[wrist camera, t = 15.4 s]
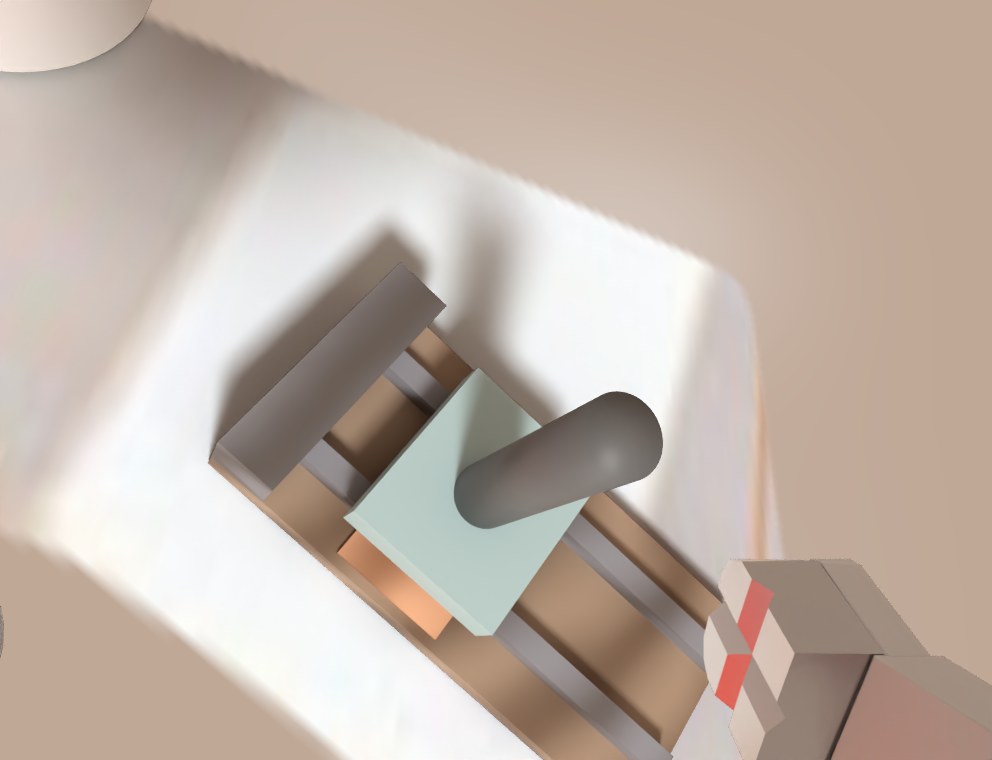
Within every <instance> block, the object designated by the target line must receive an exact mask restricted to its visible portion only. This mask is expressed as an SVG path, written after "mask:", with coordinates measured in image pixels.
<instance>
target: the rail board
mask: <svg viewBox="0 0 992 760" xmlns="http://www.w3.org/2000/svg"><path fill="white" fill-rule="evenodd" d="M445 307H446V305H445V304H444V303H443V302H442V301H441V300H440V299H439V298H438V297H437V296H436V295H435V294H434V293H433V292H432V291H431V290H429V289H428V288H427V287H426V286H425V285H424V284H423V283H422V282H421V281H420V280H419V279H418V278H417V277H416V276H415V275H414V274H413V273H411V272H410V271H409V270H408V269H407V268H406V267H405V266H404V265H403V264H402V263H401V262H400V263H399V264H398V265H397V266H396V267H395V268H394V269H393V270H392V271H391V272H390V273H389V274H388V275H387V276H386V277H385V278H384V279H383V280H382V281H381V282H380V283H379V284H378V285H377V286H376V287H375V288H374V289H373V290H372V291H371V292H370V293H369V294H368V295H366V296H365V297H364V298H363V299H362V300H361V301H360V302H359V303H358V304H357V305H356V306H355V307H354V308H353V309H352V310H351V311H350V312H349V313H348V314H347V315H346V316H345V317H344V318H343V319H342V320H341V321H340V322H339V323H338V324H337V325H336V326H335V327H334V328H333V329H332V330H331V331H330V332H329V333H328V334H327V335H326V336H325V337H324V338H323V339H322V340H321V341H320V342H319V343H318V344H317V345H316V346H315V347H314V348H313V349H311V350H310V351H309V352H308V353H307V354H306V355H305V356H304V357H303V358H302V359H301V360H300V361H299V362H298V363H297V364H296V365H295V366H294V367H293V368H292V369H291V370H290V371H289V372H288V373H287V374H286V375H285V376H284V377H283V378H282V379H281V380H280V381H279V382H278V383H277V384H276V385H275V386H274V387H273V388H272V389H271V390H270V391H269V392H268V393H267V394H266V395H265V396H264V397H263V398H262V399H261V400H260V401H259V402H258V403H257V404H255V405H254V406H253V407H252V408H251V409H250V410H249V411H248V412H247V413H246V414H245V415H244V416H243V417H242V418H241V419H240V420H239V421H238V422H237V423H236V424H235V425H234V426H233V427H232V428H231V429H230V430H229V431H228V432H227V433H226V434H225V435H224V436H223V437H222V438H221V439H220V440H219V441H218V442H217V444H216V446H215V449H214V451H213V453H212V455H211V457H210V460H209V462H208V464H210V465H211V466H212V467H213V468H214V469H215V470H216V471H217V472H219V473H220V474H221V475H222V476H223V477H224V478H225V479H227V480H228V481H229V482H230V483H231V484H232V485H233V486H234V487H236V488H237V489H238V490H239V491H240V492H241V493H242V494H243V495H245V496H246V497H247V498H248V499H249V500H250V501H251V502H252V503H254V504H255V505H256V506H257V507H258V508H259V509H260V510H262V511H263V512H264V513H265V514H266V515H267V516H268V517H269V518H271V519H272V520H273V521H274V522H275V523H276V524H277V525H278V526H280V527H281V528H282V529H283V530H284V531H285V532H286V533H288V534H289V535H290V536H291V537H292V538H293V539H294V540H295V541H297V542H298V543H299V544H300V545H301V546H302V547H303V548H304V549H306V550H307V551H308V552H309V553H310V554H311V555H312V556H314V557H315V558H316V559H317V560H318V561H319V562H320V563H321V564H323V565H324V566H325V567H326V568H327V569H328V570H329V571H330V572H332V573H333V574H334V575H335V576H336V577H337V578H338V579H340V580H341V581H342V582H343V583H344V584H345V585H346V586H347V587H349V588H350V589H351V590H352V591H353V592H354V593H355V594H356V595H358V596H359V597H360V598H361V599H362V600H363V601H364V602H366V603H367V604H368V605H369V606H370V607H371V608H372V609H373V610H375V611H376V612H377V613H378V614H379V615H380V616H381V617H382V618H384V619H385V620H386V621H387V622H388V623H389V624H390V625H391V626H393V627H394V628H395V629H396V630H397V631H398V632H399V633H401V634H402V635H403V636H404V637H405V638H406V639H407V640H408V641H410V642H411V643H412V644H413V645H414V646H415V647H416V648H417V649H419V650H420V651H421V652H422V653H423V654H424V655H425V656H427V657H428V658H429V659H430V660H431V661H432V662H433V663H434V664H436V665H437V666H438V667H439V668H440V669H441V670H442V671H443V672H445V673H446V674H447V675H448V676H449V677H450V678H451V679H453V680H454V681H455V682H456V683H457V684H458V685H459V686H460V687H462V688H463V689H464V690H465V691H466V692H467V693H468V694H469V695H471V696H472V697H473V698H474V699H475V700H476V701H477V702H479V703H480V704H481V705H482V706H483V707H484V708H485V709H486V710H488V711H489V712H490V713H491V714H492V715H493V716H494V717H495V718H497V719H498V720H499V721H500V722H501V723H502V724H503V725H505V726H506V727H507V728H508V729H509V730H510V731H511V732H512V733H514V734H515V735H516V736H517V737H518V738H519V739H520V740H521V741H523V742H524V743H525V744H526V745H527V746H528V747H529V748H530V749H532V750H533V751H534V752H535V753H536V754H537V755H538V756H540V757H541V758H542V759H543V760H672V758H673V756H672V755H671V754H670V753H671V751H672V749H673V748H674V746H675V744H676V742H677V740H678V738H679V737H680V735H681V733H682V731H683V729H684V727H685V725H686V724H687V722H688V720H689V718H690V716H691V714H692V713H693V711H694V709H695V707H696V705H697V703H698V701H699V700H700V698H701V696H702V694H703V692H704V690H705V688H706V687H707V685H708V683H709V680H708V677H707V673H706V668H705V664H704V638H703V637H704V633H705V629H706V625H707V621H708V617H709V615H710V614H711V613H712V612H713V611H714V610H715V609H716V608H718V607H719V606H720V605H721V604H722V603H721V602H720V601H719V600H718V599H717V598H716V597H715V596H714V595H712V594H711V593H710V592H709V591H708V590H707V589H706V588H705V587H704V586H703V585H702V584H701V583H700V582H699V581H698V580H696V579H695V578H694V577H693V576H692V575H691V574H690V573H689V572H688V571H687V570H686V569H685V568H684V567H683V566H682V565H680V564H679V563H678V562H677V561H676V560H675V559H674V558H673V557H672V556H671V555H670V554H669V553H668V552H667V551H666V550H664V549H663V548H662V547H661V546H660V545H659V544H658V543H657V542H656V541H655V540H654V539H653V538H652V537H651V536H650V535H648V534H647V533H646V532H645V531H644V530H643V529H642V528H641V527H640V526H639V525H638V524H637V523H636V522H635V521H634V520H632V519H631V518H630V517H629V516H628V515H627V514H626V513H625V512H624V511H623V510H622V509H621V508H620V507H619V506H618V505H617V504H615V503H614V502H613V501H612V500H611V499H610V498H609V497H608V496H607V495H606V494H605V493H604V492H602V493H599V494H596V495H593V496H590V497H589V499H588V500H587V501H586V503H585V504H584V506H583V507H582V508H581V510H580V511H579V513H578V514H577V516H576V517H575V518H574V520H573V521H572V523H571V524H570V526H569V527H568V528H567V530H566V531H565V533H564V534H563V536H562V537H561V538H560V540H559V541H558V543H557V544H556V545H555V547H554V548H553V550H552V551H551V553H550V554H549V555H548V557H547V558H546V560H545V561H544V563H543V564H542V565H541V567H540V568H539V570H538V571H537V573H536V574H535V575H534V577H533V578H532V580H531V581H530V582H529V584H528V585H527V587H526V588H525V590H524V591H523V592H522V594H521V595H520V597H519V598H518V600H517V601H516V602H515V604H514V605H513V607H512V608H511V610H510V611H509V612H508V614H507V615H506V617H505V618H504V619H503V621H502V622H501V624H500V625H499V627H498V628H497V629H496V631H495V632H494V634H493V635H488V636H475V635H474V634H473V633H471V632H470V631H469V630H468V629H467V628H466V627H465V626H464V625H463V624H461V623H460V622H459V621H458V620H457V619H456V618H455V617H454V616H452V615H451V614H450V613H449V612H448V611H447V610H446V609H445V608H444V607H442V606H441V605H440V604H439V603H438V602H437V601H436V600H435V599H433V598H432V597H431V596H430V595H429V594H428V593H427V592H426V591H425V590H423V589H422V588H421V587H420V586H419V585H418V584H417V583H416V582H414V581H413V580H412V579H411V578H410V577H409V576H408V575H407V574H406V573H404V572H403V571H402V570H401V569H400V568H399V567H398V566H397V565H396V564H394V563H393V562H392V561H391V560H390V559H389V558H388V557H387V556H385V555H384V554H383V553H382V552H381V551H380V550H379V549H378V548H377V547H375V546H374V545H373V544H372V543H371V542H370V541H369V540H368V539H366V538H365V537H364V536H363V535H362V534H361V533H360V532H359V531H358V530H356V529H355V528H354V527H353V526H352V525H351V524H350V523H349V522H347V521H346V520H345V519H344V518H343V517H344V516H345V515H346V514H347V512H348V511H349V510H350V509H351V508H352V507H353V506H354V504H355V503H356V502H357V501H358V500H359V499H360V498H361V496H362V495H363V494H364V493H365V492H366V491H367V489H368V488H369V487H370V486H371V485H372V484H373V483H374V481H375V480H376V479H377V478H378V477H379V476H380V475H381V473H382V472H383V471H384V470H385V469H386V468H387V467H388V465H389V464H390V463H391V462H392V461H393V460H394V459H395V457H396V456H397V455H398V454H399V453H400V452H401V450H402V449H403V448H404V447H405V446H406V445H407V444H408V442H409V441H410V440H411V439H412V438H413V437H414V436H415V434H416V433H417V432H418V431H419V430H420V429H421V428H422V426H423V425H424V424H425V423H426V422H427V421H428V419H429V418H430V417H431V416H432V415H433V414H434V413H435V411H436V410H437V409H438V408H439V407H440V406H441V405H442V403H443V402H444V401H445V400H446V399H447V398H448V397H449V395H450V394H451V393H452V392H453V391H454V390H455V388H456V387H457V386H458V385H459V384H460V383H461V382H462V380H463V379H464V378H466V377H467V376H468V375H469V374H471V373H472V372H473V371H474V370H473V369H472V368H470V367H469V366H468V365H467V364H466V363H465V362H464V361H463V360H462V359H461V358H460V357H459V356H458V355H457V354H456V353H454V352H453V351H452V350H451V349H450V348H449V347H448V346H447V345H446V344H445V343H444V342H443V341H442V340H441V339H440V338H438V337H437V336H436V335H435V334H434V333H433V332H432V331H431V330H430V329H429V328H428V327H427V326H428V325H429V324H430V323H431V322H432V321H433V320H434V319H435V318H436V317H437V316H438V315H439V313H440V312H441V311H442V310H443V309H444V308H445Z"/></svg>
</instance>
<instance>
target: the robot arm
mask: <svg viewBox="0 0 992 760" xmlns="http://www.w3.org/2000/svg"><path fill="white" fill-rule="evenodd" d="M151 2H152V0H0V71H6V72H35V71H46V70H53V69H59V68H64V67H68V66H72V65H76V64H79V63H82V62H85V61H87V60H90V59H92V58H95V57H97V56H99V55H101V54H103V53H105V52H107V51H108V50H110V49H112V48H113V47H115V46H116V45H117V44H119V43H120V42H121V41H123V40H124V39H125V38H126V37H127V36H128V35H129V34H130V33H131V32H132V31H133V30H134V29H135V28H136V27H137V26H138V25H139V23H140V22H141V20H142V19H143V18H144V16H145V14H146V12H147V10H148V8H149V6H150V4H151ZM718 587H719V589H720V591H721V593H722V595H723V597H724V599H725V601H724V602H723V603H722V604H721V605H720V606H719V607H718V608H716V609H715V610H714V611H713V612H712V613H711V614H710V615H709V617H708V621H707V625H706V629H705V633H704V637H703V638H704V664H705V668H706V673H707V677H708V680H709V683H710V685H711V687H712V690H713V692H714V695H715V696H716V697H717V698H719V699H720V700H721V701H722V702H724V703H725V704H726V705H727V706H729V707H730V708H731V709H732V710H734V711H733V714H732V717H731V720H730V724H729V729H730V732H731V734H732V736H733V738H734V741H735V743H736V745H737V748H738V750H739V752H740V754H741V757H742V759H743V760H992V685H990V684H989V683H987V682H985V681H984V680H982V679H980V678H979V677H977V676H975V675H974V674H972V673H970V672H968V671H967V670H965V669H964V668H962V667H960V666H959V665H957V664H955V663H953V662H952V661H950V660H949V659H947V658H945V657H943V656H930V655H929V653H928V652H927V651H926V649H925V648H924V647H923V646H922V644H921V643H920V642H919V640H918V639H917V638H916V636H915V635H914V634H913V632H912V631H911V630H910V628H909V627H908V626H907V625H906V623H905V622H904V621H903V619H902V618H901V617H900V615H899V614H898V613H897V612H896V610H895V609H894V608H893V606H892V605H891V604H890V602H889V601H888V600H887V598H886V597H885V596H884V595H883V593H882V592H881V591H880V589H879V588H878V587H877V585H876V584H875V583H874V582H873V580H872V579H871V578H870V576H869V575H868V574H867V572H866V571H865V570H864V568H863V567H862V566H861V565H860V564H858V563H856V562H855V561H853V560H851V559H810V560H768V559H730V560H729V561H728V563H727V564H726V565H725V567H724V568H723V570H722V574H721V577H720V580H719V583H718ZM3 631H4V623H3V618H2V611H1V606H0V657H1V653H2V649H3V633H4V632H3Z"/></svg>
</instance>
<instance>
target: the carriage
mask: <svg viewBox="0 0 992 760" xmlns="http://www.w3.org/2000/svg"><path fill="white" fill-rule="evenodd" d="M662 448H663V438H662V432H661V428H660V425H659V423H658V420H657V418H656V416H655V415H654V413H653V412H652V410H651V409H650V408H649V407H648V406H647V405H646V404H645V403H644V402H643V401H642V400H640V399H639V398H637V397H635V396H634V395H631V394H629V393H625V392H617V391H616V392H609V393H605V394H603V395H601V396H599V397H597V398H595V399H593V400H592V401H590V402H588V403H586V404H584V405H582V406H580V407H578V408H577V409H575V410H573V411H571V412H569V413H567V414H565V415H563V416H562V417H560V418H558V419H556V420H554V421H552V422H550V423H548V424H547V425H545V426H543V427H542V426H541V425H540V424H539V423H537V422H536V421H535V420H534V419H533V418H532V417H531V416H530V415H529V414H528V413H527V412H526V411H525V410H524V409H523V408H522V407H520V406H519V405H518V404H517V403H516V402H515V401H514V400H513V399H512V398H511V397H510V396H509V395H508V394H507V393H506V392H504V391H503V390H502V389H501V388H500V387H499V386H498V385H497V384H496V383H495V382H494V381H493V380H492V379H491V378H490V377H489V376H487V375H486V374H485V373H484V372H483V371H482V370H481V369H480V368H479V367H478V368H477V369H476V370H474V371H473V372H472V373H471V374H469V375H468V376H467V377H466V378H464V379H463V380H462V382H461V383H460V384H459V385H458V386H457V387H456V388H455V390H454V391H453V392H452V393H451V394H450V395H449V397H448V398H447V399H446V400H445V401H444V402H443V403H442V405H441V406H440V407H439V408H438V409H437V410H436V411H435V413H434V414H433V415H432V416H431V417H430V418H429V419H428V421H427V422H426V423H425V424H424V425H423V426H422V428H421V429H420V430H419V431H418V432H417V433H416V434H415V436H414V437H413V438H412V439H411V440H410V441H409V442H408V444H407V445H406V446H405V447H404V448H403V449H402V450H401V452H400V453H399V454H398V455H397V456H396V457H395V459H394V460H393V461H392V462H391V463H390V464H389V465H388V467H387V468H386V469H385V470H384V471H383V472H382V473H381V475H380V476H379V477H378V478H377V479H376V480H375V481H374V483H373V484H372V485H371V486H370V487H369V488H368V489H367V491H366V492H365V493H364V494H363V495H362V496H361V498H360V499H359V500H358V501H357V502H356V503H355V504H354V506H353V507H352V508H351V509H350V510H349V511H348V512H347V514H346V515H345V516H344V517H343V518H344V519H345V520H346V521H347V522H349V523H350V524H351V525H352V526H353V527H354V528H355V529H356V530H358V531H359V532H360V533H361V534H362V535H363V536H364V537H365V538H366V539H368V540H369V541H370V542H371V543H372V544H373V545H374V546H375V547H377V548H378V549H379V550H380V551H381V552H382V553H383V554H384V555H385V556H387V557H388V558H389V559H390V560H391V561H392V562H393V563H394V564H396V565H397V566H398V567H399V568H400V569H401V570H402V571H403V572H404V573H406V574H407V575H408V576H409V577H410V578H411V579H412V580H413V581H414V582H416V583H417V584H418V585H419V586H420V587H421V588H422V589H423V590H425V591H426V592H427V593H428V594H429V595H430V596H431V597H432V598H433V599H435V600H436V601H437V602H438V603H439V604H440V605H441V606H442V607H444V608H445V609H446V610H447V611H448V612H449V613H450V614H451V615H452V616H454V617H455V618H456V619H457V620H458V621H459V622H460V623H461V624H463V625H464V626H465V627H466V628H467V629H468V630H469V631H470V632H471V633H473V634H474V635H475V636H488V635H493V634H494V632H495V631H496V629H497V628H498V627H499V625H500V624H501V622H502V621H503V619H504V618H505V617H506V615H507V614H508V612H509V611H510V610H511V608H512V607H513V605H514V604H515V602H516V601H517V600H518V598H519V597H520V595H521V594H522V592H523V591H524V590H525V588H526V587H527V585H528V584H529V582H530V581H531V580H532V578H533V577H534V575H535V574H536V573H537V571H538V570H539V568H540V567H541V565H542V564H543V563H544V561H545V560H546V558H547V557H548V555H549V554H550V553H551V551H552V550H553V548H554V547H555V545H556V544H557V543H558V541H559V540H560V538H561V537H562V536H563V534H564V533H565V531H566V530H567V528H568V527H569V526H570V524H571V523H572V521H573V520H574V518H575V517H576V516H577V514H578V513H579V511H580V510H581V508H582V507H583V506H584V504H585V503H586V501H587V500H588V499H589V497H590V496H593V495H596V494H599V493H602V492H605V491H608V490H611V489H614V488H617V487H620V486H623V485H626V484H629V483H632V482H635V481H638V480H641V479H643V478H645V477H646V476H648V475H649V474H650V473H651V472H652V471H653V470H654V469H655V468H656V466H657V464H658V463H659V460H660V458H661V454H662Z"/></svg>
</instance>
